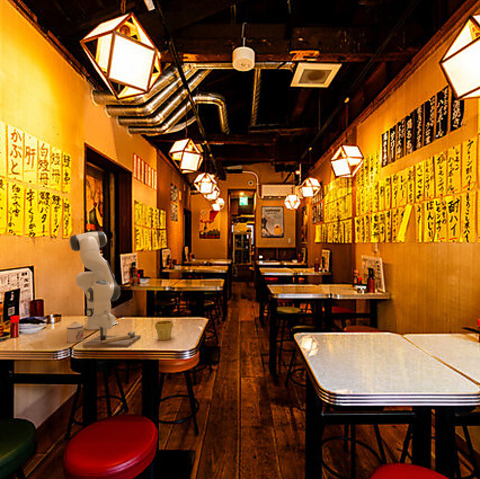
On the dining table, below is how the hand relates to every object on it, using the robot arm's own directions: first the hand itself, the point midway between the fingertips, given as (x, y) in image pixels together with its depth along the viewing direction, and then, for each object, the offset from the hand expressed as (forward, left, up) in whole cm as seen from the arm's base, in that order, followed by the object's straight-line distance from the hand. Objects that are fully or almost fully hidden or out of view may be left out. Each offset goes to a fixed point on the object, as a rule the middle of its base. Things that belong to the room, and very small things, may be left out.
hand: (103, 334), depth 187 cm
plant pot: (-24, +23, -6) cm, 34 cm away
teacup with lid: (-1, -25, -6) cm, 26 cm away
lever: (-8, +3, -4) cm, 9 cm away
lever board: (-7, 0, -6) cm, 9 cm away
